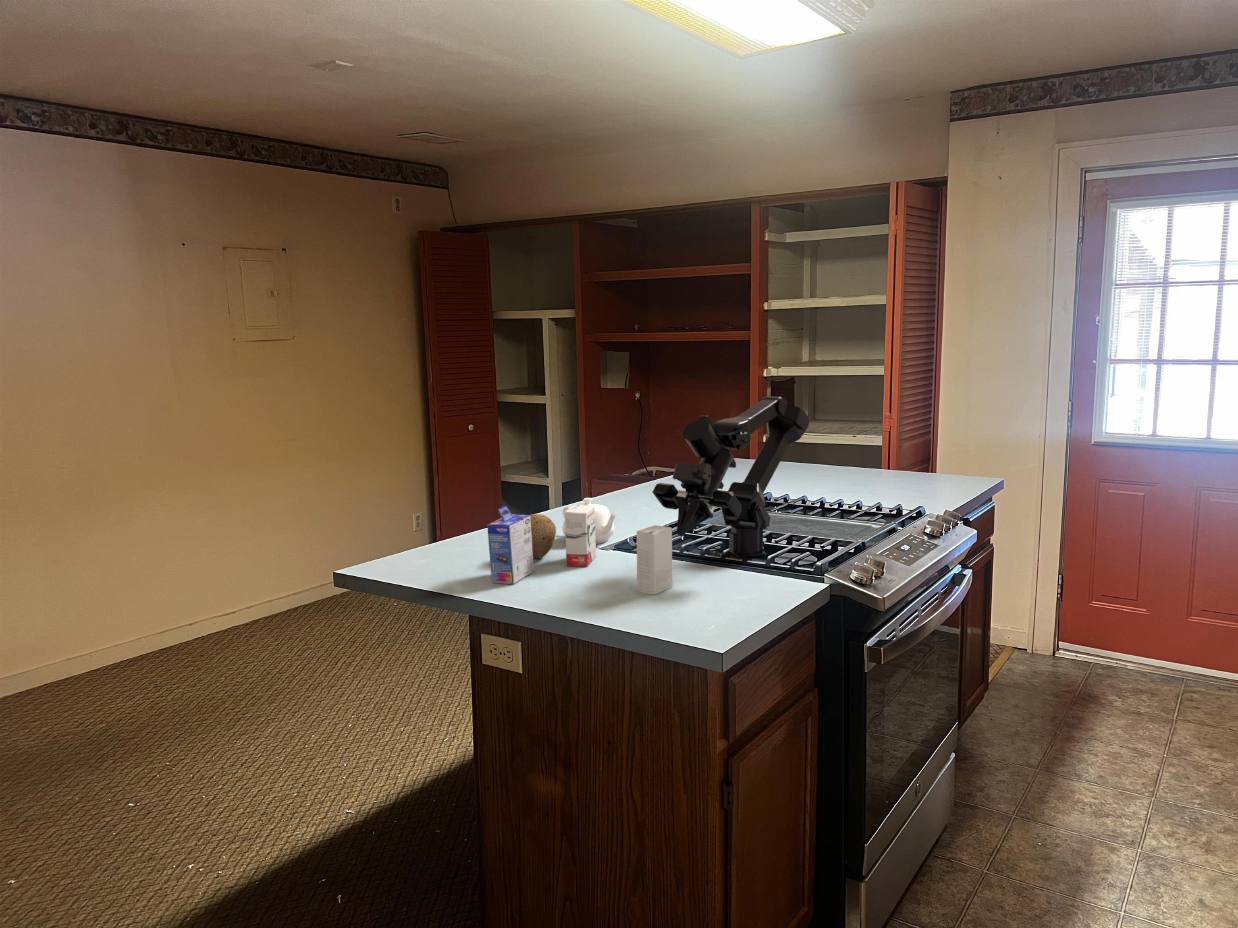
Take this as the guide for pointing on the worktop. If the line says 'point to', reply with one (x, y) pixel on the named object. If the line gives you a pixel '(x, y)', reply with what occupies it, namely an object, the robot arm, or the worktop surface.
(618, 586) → the worktop surface
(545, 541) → the natural sponge
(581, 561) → the ink box
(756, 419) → the robot arm
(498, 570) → the ink cartridge box
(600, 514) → the teapot
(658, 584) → the skincare box
